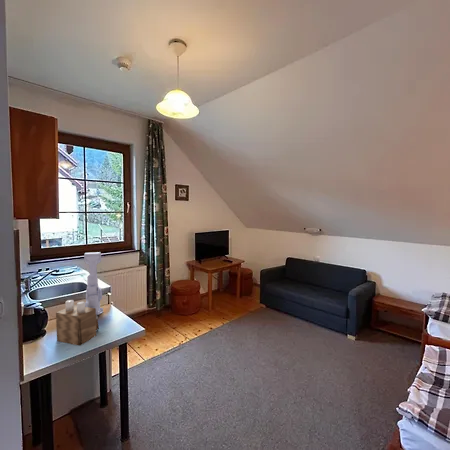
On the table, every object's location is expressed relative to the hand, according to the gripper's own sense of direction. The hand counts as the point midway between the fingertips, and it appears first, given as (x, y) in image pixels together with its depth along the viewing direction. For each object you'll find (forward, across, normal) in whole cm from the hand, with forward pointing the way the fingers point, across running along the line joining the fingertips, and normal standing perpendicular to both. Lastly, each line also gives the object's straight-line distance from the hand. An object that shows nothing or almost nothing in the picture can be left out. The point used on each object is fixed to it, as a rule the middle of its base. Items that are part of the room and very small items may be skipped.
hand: (93, 327), depth 162 cm
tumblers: (-15, -13, 0) cm, 20 cm away
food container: (+1, -3, 0) cm, 3 cm away
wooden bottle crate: (+1, -12, 0) cm, 12 cm away
